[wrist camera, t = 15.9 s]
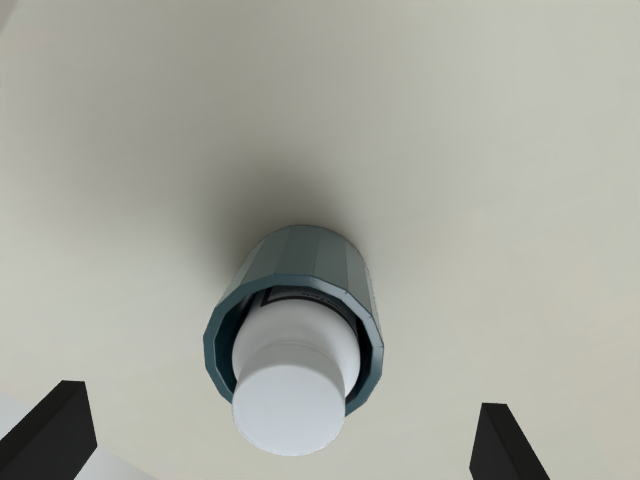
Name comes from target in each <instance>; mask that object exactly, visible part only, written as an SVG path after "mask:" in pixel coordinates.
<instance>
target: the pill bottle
mask: <svg viewBox="0 0 640 480" xmlns="http://www.w3.org/2000/svg"><path fill="white" fill-rule="evenodd" d="M232 364H233V370H234V374H235V377H236V380H237V385H236V388H235V391H234V395H233V399H232V414H233V419H234V422H235V424H236V426H237V428H238V430H239V431H240V432H241V434H242V435H243V436H244V437H245V438H246V439H247V440H248V441H249V442H250V443H252V444H253V445H254V446H256V447H258V448H260V449H262V450H264V451H267V452H270V453H273V454H277V455H284V456H300V455H305V454H309V453H312V452H315V451H317V450H319V449H321V448H323V447H325V446H326V445H328V444H329V443H330V442H331V441H332V440H333V439H334V438H335V437H336V436H337V434H338V433H339V431H340V430H341V428H342V425H343V422H344V418H345V397H346V396H347V395H348V394H349V393H350V391H351V390H352V388H353V386H354V385H355V383H356V380H357V377H358V374H359V369H360V349H359V340H358V332H357V323H356V315H355V314H354V313H353V312H352V311H351V310H350V309H349V308H348V307H347V306H346V305H345V304H344V303H343V302H342V301H341V300H340V299H338V298H336V297H333V296H331V295H329V294H326V293H324V292H322V291H319V290H317V289H315V288H312V287H308V286H286V285H275V286H272V287H269V288H266V289H263V290H260V291H257V292H256V293H255V295H254V298H253V300H252V302H251V305H250V307H249V309H248V311H247V313H246V316H245V318H244V320H243V322H242V325H241V327H240V329H239V331H238V334H237V337H236V340H235V343H234V346H233V353H232Z"/></svg>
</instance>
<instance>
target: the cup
mask: <svg viewBox="0 0 640 480" xmlns="http://www.w3.org/2000/svg"><path fill="white" fill-rule="evenodd" d="M275 285H286V286H308V287H312V288H315V289H317V290H319V291H322V292H324V293H326V294H329V295H331V296H333V297H336V298H338V299H340V300H341V301H342V302H343V303H344V304H345V305H346V306H347V307H348V308H349V309H350V310H351V311H352V312H353V313H354V314H355V315H356V323H357V332H358V340H359V349H360V369H359V374H358V377H357V380H356V383H355V385H354V386H353V388H352V390H351V391H350V393H349V394H348V395H347V396H346V397H345V417H346V416H347V415H349V414H350V413H352V412H353V411H354V410H356V409H357V408H359V407H360V406H361V405H363V404H364V403H365V402H366V401H367V399H368V398H369V396H370V394H371V393H372V391H373V389H374V388H375V386H376V384H377V383H378V381H379V379H380V378H381V375H382V365H383V355H384V342H383V337H382V332H381V327H380V322H379V317H378V312H377V307H376V302H375V297H374V292H373V287H372V283H371V279H370V276H369V273H368V270H367V266H366V264H365V262H364V260H363V258H362V256H361V255H360V253H359V252H358V251H357V249H356V248H355V247H354V246H353V245H352V244H351V243H350V242H349V241H348V240H346V239H345V238H344V237H342V236H341V235H339V234H337V233H335V232H333V231H331V230H328V229H325V228H322V227H317V226H310V225H297V226H290V227H286V228H283V229H280V230H278V231H275V232H273V233H271V234H270V235H268V236H266V237H265V238H264V239H263V240H261V241H260V242H259V243H258V244H257V245H256V246H255V247H254V249H253V250H252V251H250V253H249V254H248V256H247V257H246V259H245V260H244V262H243V264H242V265H241V267H240V268H239V270H238V272H237V273H236V275H235V276H234V278H233V280H232V281H231V283H230V284H229V286H228V288H227V289H226V291H225V292H224V294H223V296H222V297H221V299H220V300H219V302H218V304H217V305H216V307H215V308H214V311H213V313H212V316H211V318H210V320H209V323H208V325H207V328H206V330H205V333H204V335H203V343H204V356H205V367H206V370H207V371H208V373H209V375H210V377H211V379H212V381H213V382H214V384H215V386H216V388H217V390H218V391H219V393H220V394H221V396H222V397H224V398H225V399H226V400H227V401H228V402H230V403H231V404H232V399H233V395H234V391H235V388H236V385H237V380H236V377H235V374H234V370H233V364H232V353H233V346H234V343H235V340H236V337H237V334H238V331H239V329H240V327H241V325H242V322H243V320H244V318H245V316H246V313H247V311H248V309H249V307H250V305H251V302H252V300H253V298H254V295H255V293H256V292H257V291H260V290H263V289H266V288H269V287H272V286H275Z"/></svg>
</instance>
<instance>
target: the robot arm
mask: <svg viewBox="0 0 640 480" xmlns="http://www.w3.org/2000/svg"><path fill="white" fill-rule="evenodd" d="M96 448H97V441H96V436H95V431H94V426H93V421H92V416H91V411H90V406H89V401H88V396H87V391H86V386H85V382H84V381H65V380H62V381H61V382H60V383H59V384H58V385H57V386H56V387H55V388H54V389H53V390H52V391H51V392H50V393H49V394H48V395H47V396H46V397H45V398H43V399H42V400H41V401H40V402H39V403H38V404H37V405H36V406H35V407H34V408H33V409H32V410H31V411H30V412H29V413H28V414H27V415H26V416H25V417H24V418H23V419H22V420H21V421H20V422H19V423H18V424H17V425H16V426H15V427H14V428H13V429H12V430H11V431H10V432H9V433H8V434H7V435H6V436H5V437H4V438H2V439H1V440H0V480H74V478H75V477H76V476H77V474H78V473H79V471H80V470H81V469H82V467H83V466H84V464H85V463H86V462H87V460H88V459H89V457H90V456H91V455H92V453H93V452H94V451H95V449H96ZM469 469H470V472H471V474H472V477H473V480H550V478H549V477H548V475H547V473H546V472H545V470H544V468H543V466H542V465H541V463H540V461H539V459H538V458H537V456H536V454H535V453H534V451H533V449H532V447H531V446H530V444H529V442H528V440H527V439H526V437H525V435H524V434H523V432H522V430H521V428H520V427H519V425H518V423H517V421H516V420H515V418H514V416H513V415H512V413H511V411H510V409H509V408H508V406H507V404H498V403H482V406H481V411H480V416H479V421H478V426H477V431H476V436H475V441H474V446H473V451H472V456H471V461H470V466H469Z"/></svg>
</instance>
